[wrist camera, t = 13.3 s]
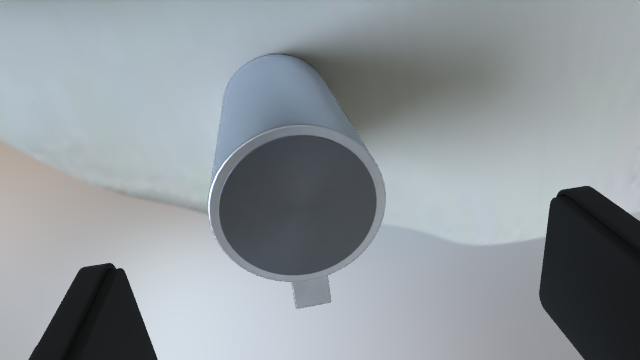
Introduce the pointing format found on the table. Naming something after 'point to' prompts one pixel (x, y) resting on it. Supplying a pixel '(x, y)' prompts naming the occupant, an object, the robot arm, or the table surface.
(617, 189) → the table surface
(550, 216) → the robot arm
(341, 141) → the measuring cup
